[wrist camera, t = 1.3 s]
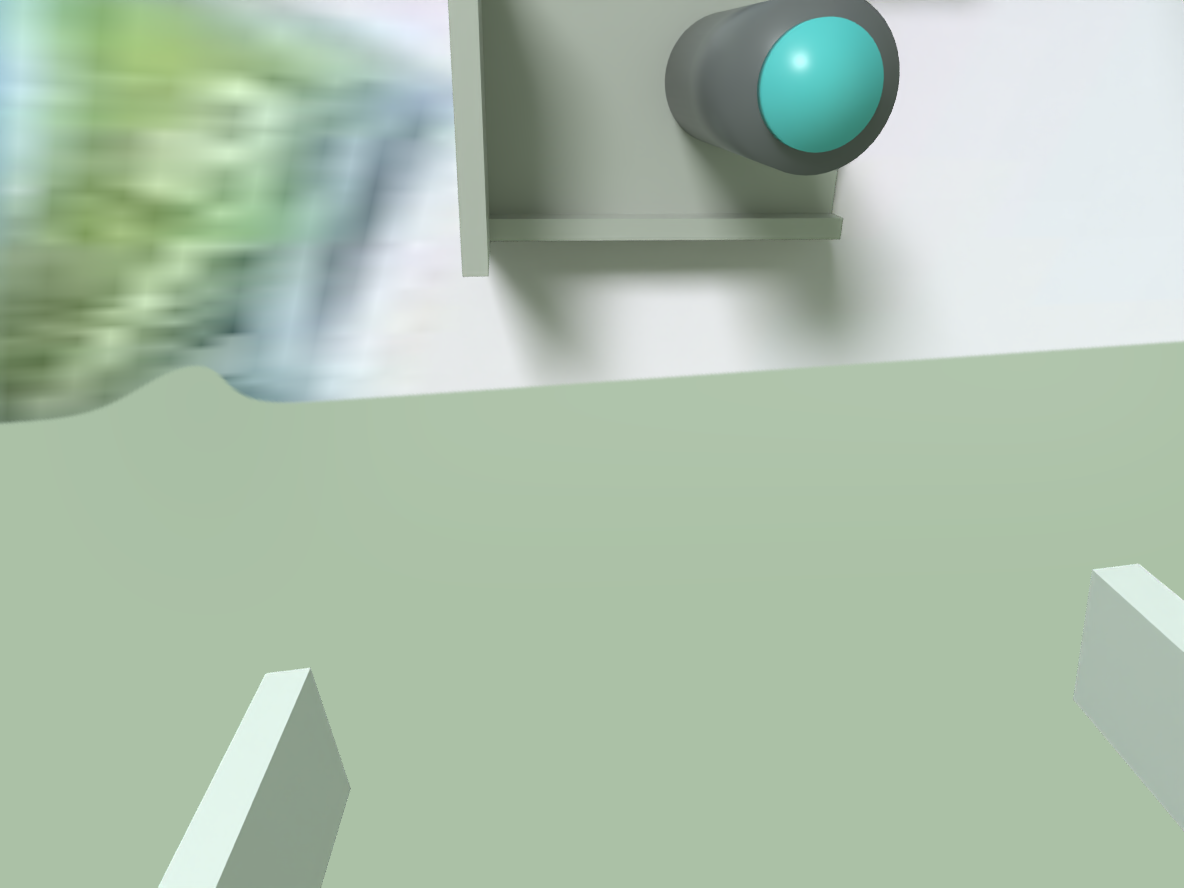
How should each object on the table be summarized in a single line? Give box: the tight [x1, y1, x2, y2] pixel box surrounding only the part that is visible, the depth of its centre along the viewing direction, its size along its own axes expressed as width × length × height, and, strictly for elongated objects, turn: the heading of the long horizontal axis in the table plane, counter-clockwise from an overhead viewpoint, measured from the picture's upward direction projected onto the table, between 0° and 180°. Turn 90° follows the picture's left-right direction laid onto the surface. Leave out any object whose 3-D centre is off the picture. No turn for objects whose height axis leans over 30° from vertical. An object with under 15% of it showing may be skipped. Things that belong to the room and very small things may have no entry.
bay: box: [448, 0, 843, 277], centre depth 34 cm, size 18×13×10 cm
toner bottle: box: [665, 0, 899, 176], centre depth 32 cm, size 6×6×13 cm
